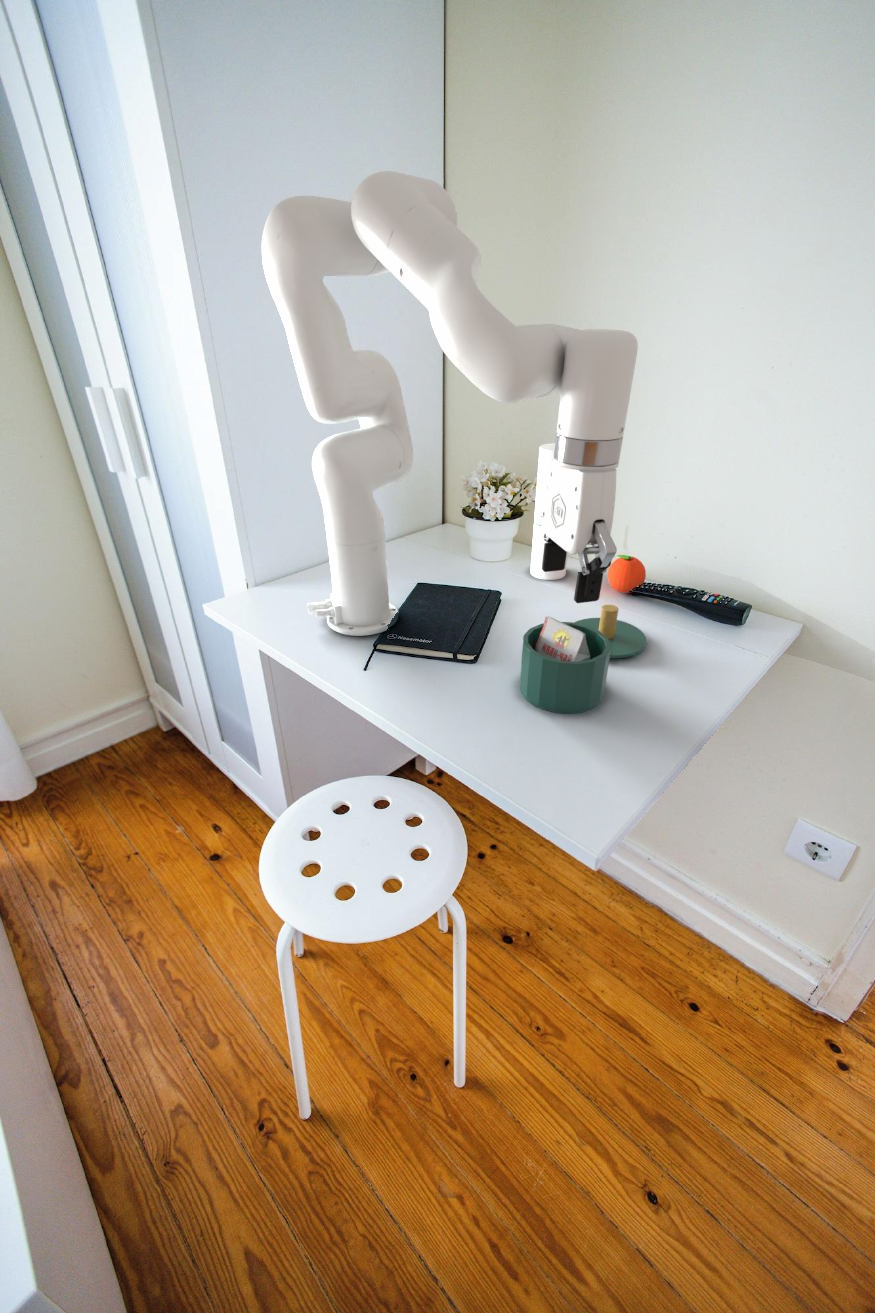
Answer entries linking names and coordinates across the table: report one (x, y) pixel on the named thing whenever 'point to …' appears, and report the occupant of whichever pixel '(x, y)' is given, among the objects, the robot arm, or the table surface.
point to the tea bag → (562, 642)
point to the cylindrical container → (538, 535)
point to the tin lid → (617, 632)
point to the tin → (565, 674)
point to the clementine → (626, 573)
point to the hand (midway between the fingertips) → (568, 584)
